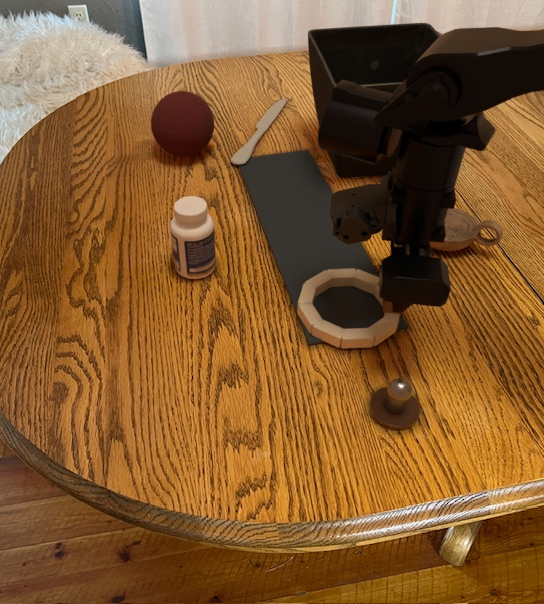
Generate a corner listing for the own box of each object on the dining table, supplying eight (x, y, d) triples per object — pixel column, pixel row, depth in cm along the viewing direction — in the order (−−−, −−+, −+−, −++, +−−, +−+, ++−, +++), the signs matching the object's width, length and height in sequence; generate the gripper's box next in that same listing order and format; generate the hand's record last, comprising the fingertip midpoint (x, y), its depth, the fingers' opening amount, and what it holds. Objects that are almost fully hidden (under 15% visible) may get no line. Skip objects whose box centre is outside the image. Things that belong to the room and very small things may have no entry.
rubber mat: (408, 328, 70) (408, 326, 70) (308, 345, 68) (309, 343, 68) (308, 151, 98) (308, 149, 97) (236, 160, 96) (236, 158, 96)
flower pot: (448, 184, 90) (479, 75, 78) (323, 195, 89) (335, 85, 77) (408, 122, 103) (429, 21, 91) (299, 131, 102) (306, 29, 90)
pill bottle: (223, 260, 79) (221, 199, 72) (203, 285, 76) (199, 223, 69) (188, 248, 81) (182, 187, 74) (167, 272, 78) (159, 211, 71)
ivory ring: (419, 315, 71) (432, 274, 66) (347, 365, 66) (355, 324, 61) (348, 264, 77) (354, 224, 73) (277, 306, 72) (279, 265, 68)
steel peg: (429, 412, 62) (439, 386, 58) (396, 439, 59) (404, 412, 56) (391, 382, 64) (399, 355, 61) (359, 406, 62) (365, 379, 59)
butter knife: (226, 160, 95) (243, 164, 94) (278, 96, 110) (293, 98, 109) (226, 163, 95) (244, 166, 94) (277, 98, 110) (293, 100, 110)
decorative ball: (213, 169, 95) (211, 110, 88) (150, 169, 95) (143, 110, 88) (216, 136, 102) (214, 79, 95) (158, 136, 102) (151, 79, 95)
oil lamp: (387, 238, 81) (393, 208, 78) (409, 211, 86) (416, 181, 82) (484, 274, 76) (495, 244, 72) (502, 243, 80) (514, 212, 77)
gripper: (343, 121, 65) (329, 234, 76) (335, 227, 52) (319, 345, 63) (450, 127, 63) (420, 242, 74) (469, 238, 50) (429, 358, 61)
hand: (396, 292), depth 68 cm, fingers open, 6 cm apart
